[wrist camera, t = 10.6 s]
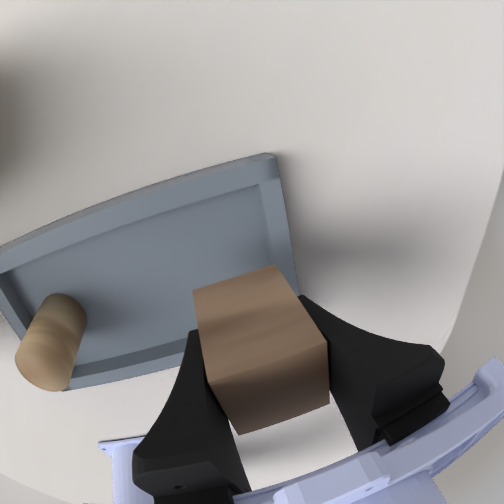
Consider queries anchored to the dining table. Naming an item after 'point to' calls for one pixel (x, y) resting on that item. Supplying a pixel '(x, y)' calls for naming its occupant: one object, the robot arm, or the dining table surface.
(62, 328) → the oak peg
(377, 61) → the dining table surface
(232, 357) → the walnut block
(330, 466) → the robot arm
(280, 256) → the parts tray
